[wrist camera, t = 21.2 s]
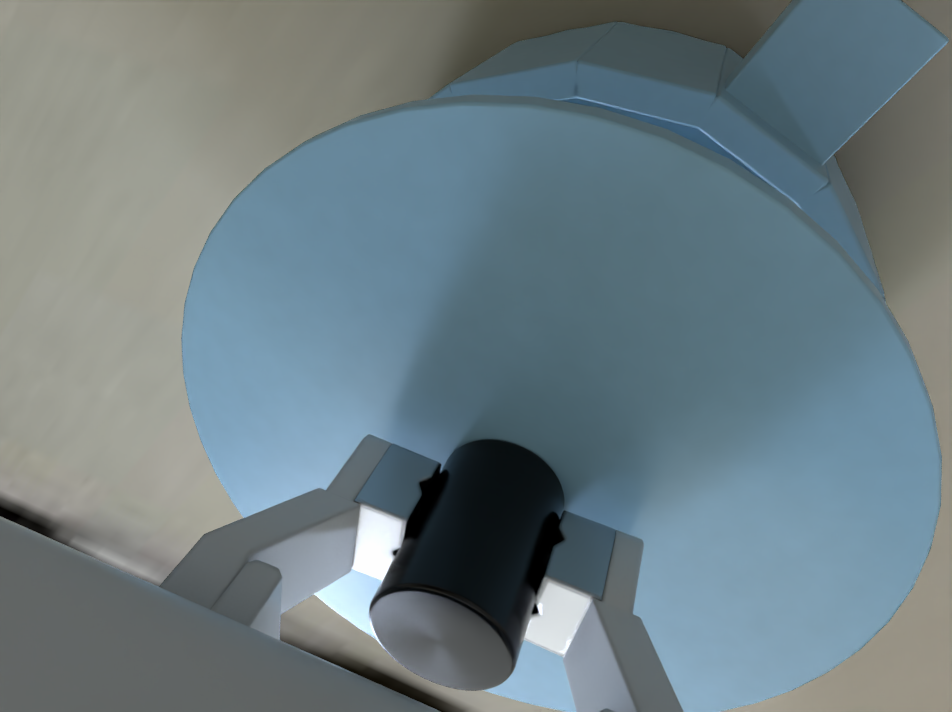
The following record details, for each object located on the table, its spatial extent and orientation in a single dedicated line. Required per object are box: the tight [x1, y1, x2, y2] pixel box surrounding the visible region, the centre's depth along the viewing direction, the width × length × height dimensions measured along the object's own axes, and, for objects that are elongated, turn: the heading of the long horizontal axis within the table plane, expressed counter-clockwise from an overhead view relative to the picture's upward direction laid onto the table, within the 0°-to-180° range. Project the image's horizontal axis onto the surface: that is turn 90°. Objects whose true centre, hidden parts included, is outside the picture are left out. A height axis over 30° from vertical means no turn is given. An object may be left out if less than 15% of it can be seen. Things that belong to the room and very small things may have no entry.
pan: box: [429, 0, 949, 302], centre depth 19 cm, size 13×19×5 cm
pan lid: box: [181, 94, 942, 712], centre depth 12 cm, size 14×14×5 cm
